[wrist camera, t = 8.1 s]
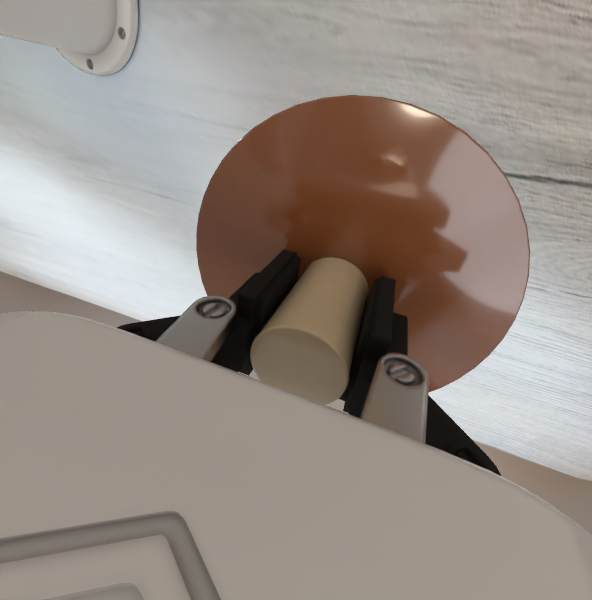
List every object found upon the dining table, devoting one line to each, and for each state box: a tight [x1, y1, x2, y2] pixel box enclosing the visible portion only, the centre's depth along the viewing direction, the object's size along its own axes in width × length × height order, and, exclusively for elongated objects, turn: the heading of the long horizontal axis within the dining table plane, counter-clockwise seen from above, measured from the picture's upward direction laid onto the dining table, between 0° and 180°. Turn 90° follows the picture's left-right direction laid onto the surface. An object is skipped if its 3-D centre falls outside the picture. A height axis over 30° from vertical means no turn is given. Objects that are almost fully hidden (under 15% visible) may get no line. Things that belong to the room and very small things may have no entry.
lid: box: [197, 95, 530, 405], centre depth 11 cm, size 14×14×6 cm
